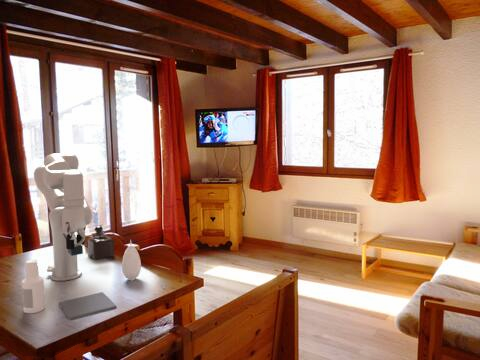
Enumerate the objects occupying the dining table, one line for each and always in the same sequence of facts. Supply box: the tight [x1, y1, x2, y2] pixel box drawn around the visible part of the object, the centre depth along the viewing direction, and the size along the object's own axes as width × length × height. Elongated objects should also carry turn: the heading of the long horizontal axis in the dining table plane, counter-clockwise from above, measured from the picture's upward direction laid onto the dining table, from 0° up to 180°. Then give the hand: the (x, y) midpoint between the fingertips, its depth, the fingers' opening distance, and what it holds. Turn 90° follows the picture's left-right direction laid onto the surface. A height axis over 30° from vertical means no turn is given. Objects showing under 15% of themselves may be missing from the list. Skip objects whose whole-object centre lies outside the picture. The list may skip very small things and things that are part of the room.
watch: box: [64, 228, 86, 256], centre depth 157 cm, size 6×8×11 cm
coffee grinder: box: [87, 224, 115, 261], centre depth 203 cm, size 16×11×18 cm
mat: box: [58, 291, 117, 320], centre depth 144 cm, size 16×16×1 cm
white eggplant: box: [121, 239, 142, 281], centre depth 170 cm, size 8×8×18 cm
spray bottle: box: [21, 259, 46, 314], centre depth 140 cm, size 7×7×18 cm
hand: (75, 246), depth 158 cm, fingers closed on watch, 6 cm apart
